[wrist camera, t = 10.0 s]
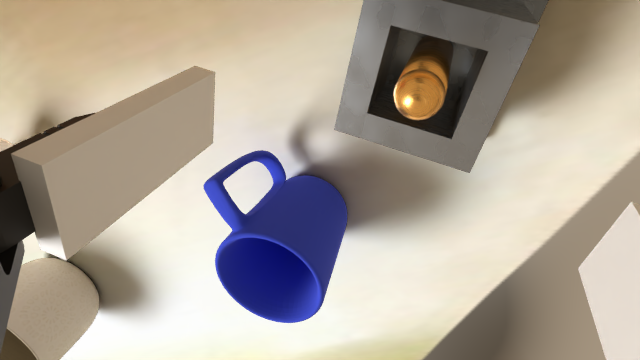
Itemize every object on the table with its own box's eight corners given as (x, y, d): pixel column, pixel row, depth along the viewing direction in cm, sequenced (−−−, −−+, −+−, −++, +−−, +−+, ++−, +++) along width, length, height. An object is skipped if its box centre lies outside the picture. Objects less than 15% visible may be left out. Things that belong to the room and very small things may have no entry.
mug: (304, 108, 31) (245, 168, 23) (375, 227, 35) (344, 315, 27) (231, 145, 36) (159, 207, 27) (301, 248, 39) (256, 330, 31)
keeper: (412, -185, 21) (371, -263, 13) (614, -149, 19) (719, -212, 11) (346, 98, 30) (296, 161, 22) (479, 139, 28) (482, 224, 20)
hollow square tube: (389, -28, 24) (367, -18, 19) (525, 6, 23) (539, 25, 18) (358, 96, 28) (334, 129, 24) (470, 130, 27) (469, 172, 22)
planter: (119, 323, 58) (56, 392, 50) (51, 298, 61) (-20, 360, 52) (99, 260, 52) (22, 328, 43) (24, 236, 55) (-63, 294, 46)
